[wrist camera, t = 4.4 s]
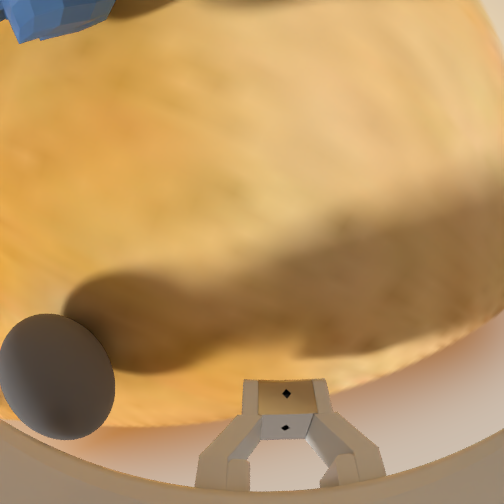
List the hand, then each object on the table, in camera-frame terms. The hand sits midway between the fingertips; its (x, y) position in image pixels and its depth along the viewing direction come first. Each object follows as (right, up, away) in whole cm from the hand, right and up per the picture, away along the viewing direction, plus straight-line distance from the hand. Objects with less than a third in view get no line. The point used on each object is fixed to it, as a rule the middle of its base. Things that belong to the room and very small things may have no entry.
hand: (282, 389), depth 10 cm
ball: (-9, 0, -1) cm, 9 cm away
